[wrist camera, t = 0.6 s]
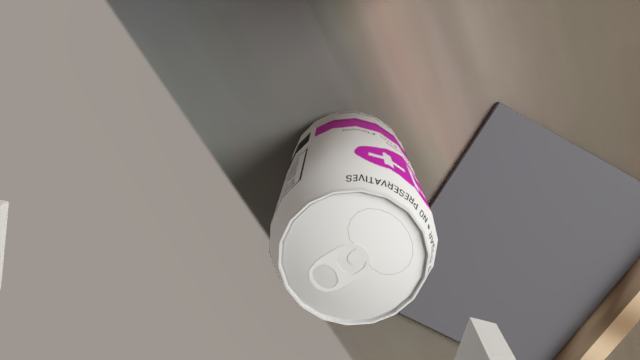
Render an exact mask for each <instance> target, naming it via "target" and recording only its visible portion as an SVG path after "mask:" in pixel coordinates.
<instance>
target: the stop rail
mask: <svg viewBox="0 0 640 360" xmlns="http://www.w3.org/2000/svg"><path fill="white" fill-rule="evenodd" d="M639 320H640V257H639V258H638V259H637V260H636V262H635V263H634V264H633V265H632V266H631V267H630V269H629V270H628V271H627V272H626V273H625V274H624V276H623V277H622V278H621V279H620V280H619V282H618V283H617V284H616V285H615V286H614V287H613V289H612V290H611V291H610V292H609V293H608V295H607V296H606V297H605V298H604V299H603V300H602V302H601V303H600V304H599V305H598V306H597V308H596V309H595V310H594V311H593V312H592V313H591V315H590V316H589V317H588V318H587V319H586V321H585V322H584V323H583V324H582V325H581V326H580V328H579V329H578V330H577V331H576V332H575V334H574V335H573V336H572V337H571V338H570V339H569V341H568V342H567V343H566V344H565V345H564V347H563V348H562V349H561V350H560V351H559V352H558V354H557V355H556V356H555V357H554V358H553V360H604V359H605V358H606V357H607V356H608V355H609V354H610V353H611V351H612V350H613V349H614V348H615V347H616V346H617V345H618V344H619V342H620V341H621V340H622V339H623V338H624V337H625V336H626V335H627V333H628V332H629V331H630V330H631V329H632V328H633V327H634V326H635V324H636V323H637V322H638V321H639Z"/></svg>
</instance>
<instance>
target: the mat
mask: <svg viewBox="0 0 640 360" xmlns="http://www.w3.org/2000/svg"><path fill="white" fill-rule="evenodd" d="M429 207H430V210H431V212H432V215H433V220H434V224H435V229H436V233H437V237H438V243H437V249H436V255H435V261H434V266H433V268H432V269H431V271H430V273H429V274H428V276H427V278H426V280H425V282H424V284H423V285H422V287H421V289H420V290H419V292H418V294H417V295H416V297H415V299H414V300H413V301H411V302H410V303H409V304H408V305H406V306H405V307H404V308H403V309H402V310H400V311H399V313H401V314H403V315H405V316H407V317H409V318H411V319H413V320H415V321H417V322H419V323H421V324H423V325H426V326H428V327H430V328H432V329H434V330H436V331H438V332H440V333H442V334H444V335H446V336H448V337H450V338H452V339H454V340H456V341H458V342H461V339H462V337H463V334H464V331H465V328H466V326H467V323H468V320H469V318H470V317H472V318H476V319H480V320H484V321H488V322H492V323H496V324H497V326H498V328H499V330H500V331H501V333H502V335H503V337H504V339H505V340H506V342H507V344H508V346H509V348H510V349H511V351H512V353H513V355H514V357H515V358H516V360H553V358H554V357H555V356H556V355H557V354H558V352H559V351H560V350H561V349H562V348H563V347H564V345H565V344H566V343H567V342H568V341H569V339H570V338H571V337H572V336H573V335H574V334H575V332H576V331H577V330H578V329H579V328H580V326H581V325H582V324H583V323H584V322H585V321H586V319H587V318H588V317H589V316H590V315H591V313H592V312H593V311H594V310H595V309H596V308H597V306H598V305H599V304H600V303H601V302H602V300H603V299H604V298H605V297H606V296H607V295H608V293H609V292H610V291H611V290H612V289H613V287H614V286H615V285H616V284H617V283H618V282H619V280H620V279H621V278H622V277H623V276H624V274H625V273H626V272H627V271H628V270H629V269H630V267H631V266H632V265H633V264H634V263H635V262H636V260H637V259H638V258H639V257H640V181H638V180H636V179H635V178H633V177H631V176H629V175H627V174H626V173H624V172H622V171H620V170H619V169H617V168H615V167H613V166H611V165H610V164H608V163H606V162H604V161H603V160H601V159H599V158H597V157H595V156H594V155H592V154H590V153H588V152H586V151H585V150H583V149H581V148H579V147H578V146H576V145H574V144H572V143H570V142H569V141H567V140H565V139H563V138H562V137H560V136H558V135H556V134H554V133H553V132H551V131H549V130H547V129H546V128H544V127H542V126H540V125H538V124H537V123H535V122H533V121H531V120H529V119H528V118H526V117H524V116H522V115H521V114H519V113H517V112H515V111H513V110H512V109H510V108H508V107H506V106H505V105H503V104H501V103H499V102H497V104H496V105H495V107H494V109H493V110H492V112H491V113H490V115H489V116H488V118H487V119H486V121H485V122H484V124H483V125H482V127H481V128H480V130H479V131H478V133H477V134H476V136H475V137H474V139H473V141H472V142H471V144H470V145H469V147H468V148H467V150H466V151H465V153H464V154H463V156H462V157H461V159H460V160H459V162H458V163H457V165H456V166H455V168H454V169H453V171H452V172H451V174H450V176H449V177H448V179H447V180H446V182H445V183H444V185H443V186H442V188H441V189H440V191H439V192H438V194H437V195H436V197H435V198H434V200H433V201H432V203H431V204H430V206H429Z"/></svg>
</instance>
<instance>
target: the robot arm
mask: <svg viewBox="0 0 640 360" xmlns="http://www.w3.org/2000/svg"><path fill="white" fill-rule="evenodd" d="M8 204H9V202H7V201H3V200H0V290H1V281H2V270H3V258H4V248H5V238H6V227H7V216H8ZM454 360H516V358H515V357H514V355H513V353H512V351H511V349H510V348H509V346H508V344H507V342H506V340H505V339H504V337H503V335H502V333H501V331H500V330H499V328H498V326H497V324H496V323H492V322H488V321H484V320H480V319H476V318H472V317H470V318H469V320H468V323H467V326H466V328H465V331H464V334H463V337H462V339H461V342H460V345H459V348H458V350H457V353H456V356H455V359H454Z"/></svg>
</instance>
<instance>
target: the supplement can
mask: <svg viewBox="0 0 640 360" xmlns="http://www.w3.org/2000/svg"><path fill="white" fill-rule="evenodd" d="M437 243H438V237H437V233H436V229H435V224H434V220H433V215H432V212H431V210H430V207H429V205H428V203H427V201H426V198H425V196H424V194H423V192H422V189H421V187H420V185H419V182H418V180H417V178H416V176H415V173H414V171H413V169H412V167H411V164H410V162H409V160H408V157H407V155H406V153H405V151H404V148H403V146H402V144H401V142H400V141H399V139H398V138H397V136H396V135H395V133H394V132H393V131H392V129H391V128H390V127H389V126H388V125H386V124H385V123H383V122H382V121H381V120H379V119H378V118H376V117H375V116H372V115H369V114H365V113H361V112H357V111H346V112H335V113H332V114H330V115H328V116H325V117H323V118H321V119H319V120H317V121H315V122H314V123H313V124H312V125H311V126H310V127H309V128H308V129H307V130H306V131H305V132H304V133H303V134H302V135H301V137H300V139H299V142H298V144H297V146H296V148H295V151H294V153H293V156H292V159H291V162H290V166H289V169H288V172H287V175H286V178H285V181H284V184H283V188H282V191H281V194H280V197H279V200H278V203H277V207H276V210H275V213H274V216H273V219H272V222H271V226H270V248H269V253H270V255H271V258H272V261H273V264H274V267H275V270H276V273H277V275H278V277H279V279H280V280H281V281H282V282H283V283H284V285H285V287H286V289H287V290H288V291H289V293H290V294H291V295H292V296H293V297H294V299H295V300H296V301H297V302H298V303H299V305H300V306H301V307H303V308H304V309H306V310H307V311H309V312H311V313H312V314H314V315H316V316H317V317H319V318H321V319H323V320H327V321H331V322H335V323H339V324H344V325H358V324H372V323H375V322H377V321H380V320H383V319H385V318H388V317H390V316H393V315H395V314H397V313H398V312H399V311H400V310H402V309H403V308H404V307H405V306H406V305H408V304H409V303H410V302H411V301H413V300H414V299H415V297H416V295H417V294H418V292H419V290H420V289H421V287H422V285H423V284H424V282H425V280H426V278H427V276H428V274H429V273H430V271H431V269H432V268H433V266H434V261H435V255H436V249H437Z"/></svg>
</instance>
